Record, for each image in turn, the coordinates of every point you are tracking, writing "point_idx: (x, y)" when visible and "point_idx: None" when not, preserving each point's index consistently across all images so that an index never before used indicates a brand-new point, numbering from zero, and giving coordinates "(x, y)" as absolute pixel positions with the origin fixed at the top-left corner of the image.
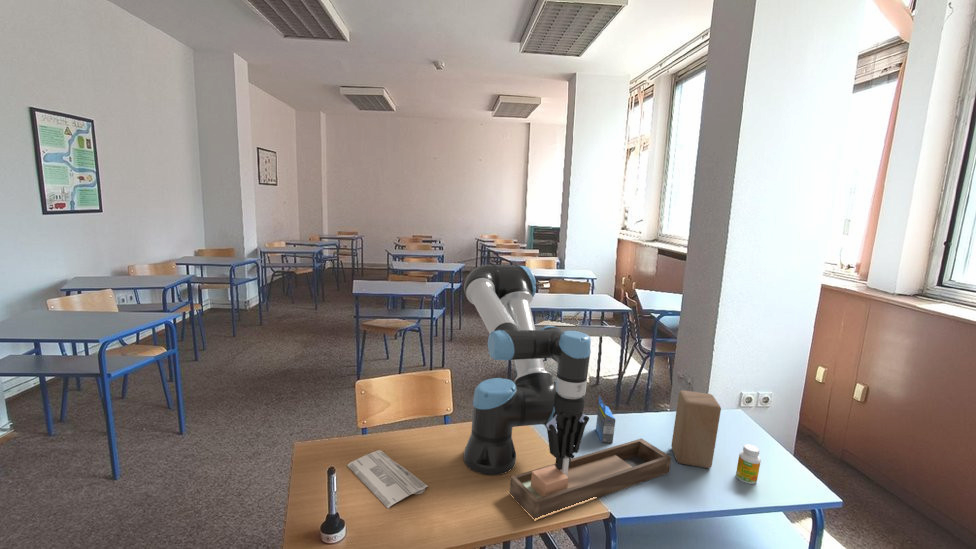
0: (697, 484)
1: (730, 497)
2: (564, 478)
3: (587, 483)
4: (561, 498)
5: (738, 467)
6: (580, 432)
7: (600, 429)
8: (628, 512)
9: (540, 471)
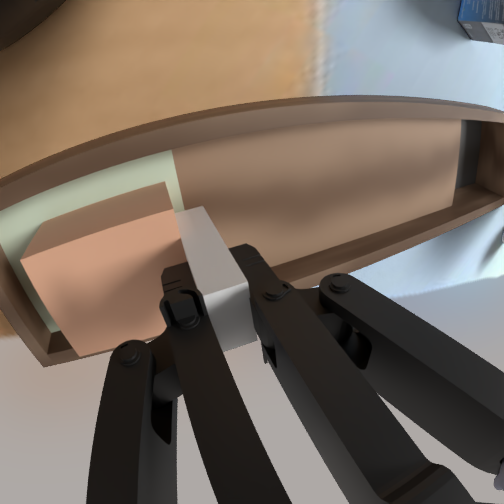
0: (477, 229)
1: (474, 264)
2: None
3: None
4: None
5: None
6: (436, 436)
7: (482, 5)
8: None
9: (66, 265)
